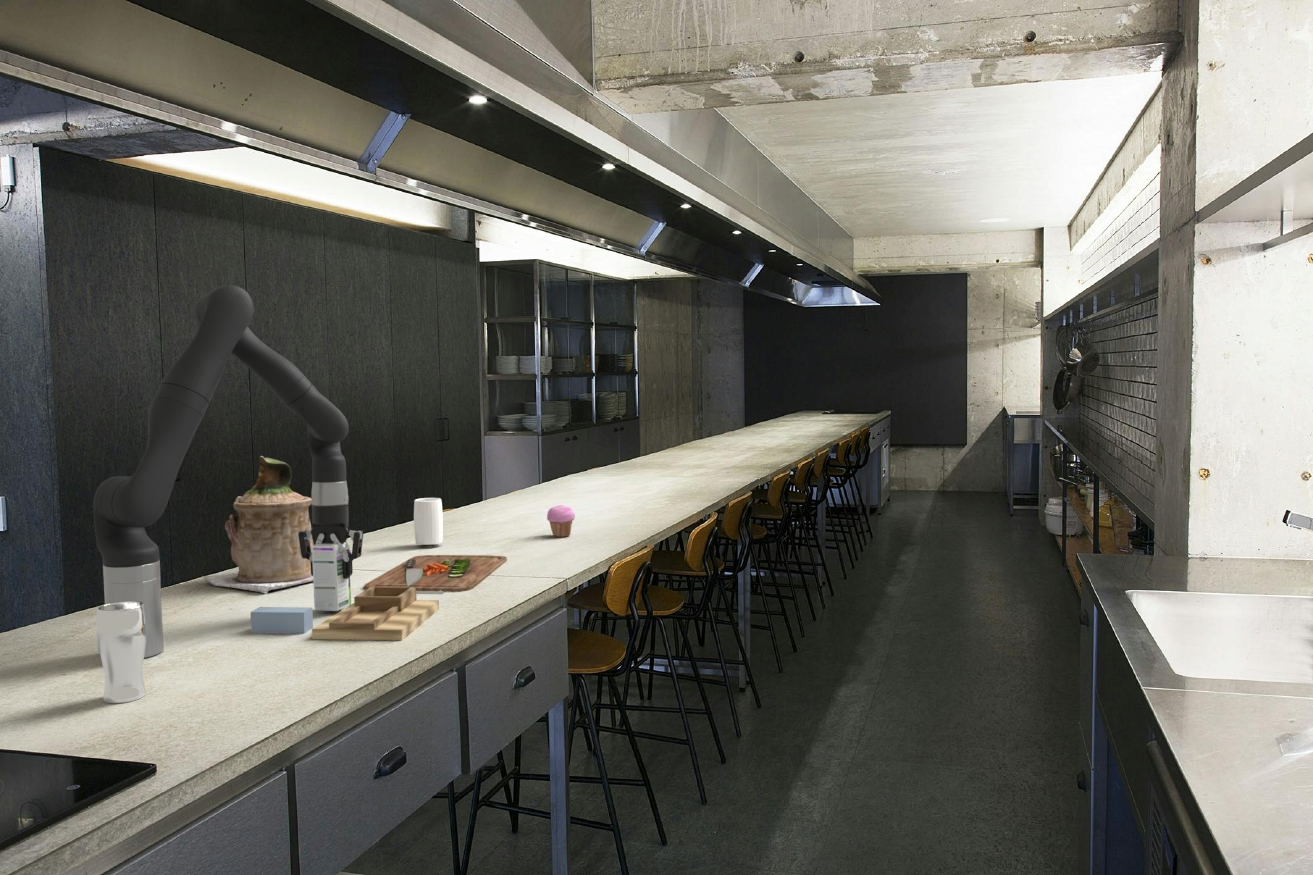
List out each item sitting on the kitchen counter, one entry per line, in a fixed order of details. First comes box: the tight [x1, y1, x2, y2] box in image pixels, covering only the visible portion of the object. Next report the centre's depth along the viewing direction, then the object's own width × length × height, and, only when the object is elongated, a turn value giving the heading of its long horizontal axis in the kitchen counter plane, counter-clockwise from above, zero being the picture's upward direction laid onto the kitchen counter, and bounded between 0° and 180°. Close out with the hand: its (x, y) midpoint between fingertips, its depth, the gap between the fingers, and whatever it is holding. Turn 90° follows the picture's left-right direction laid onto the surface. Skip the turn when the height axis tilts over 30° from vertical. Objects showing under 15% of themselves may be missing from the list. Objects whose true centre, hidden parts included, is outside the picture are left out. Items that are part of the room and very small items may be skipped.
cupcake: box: [546, 504, 576, 538], centre depth 299 cm, size 9×9×10 cm
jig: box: [311, 586, 440, 641], centre depth 197 cm, size 24×18×5 cm
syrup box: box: [312, 540, 352, 612], centre depth 207 cm, size 6×6×14 cm
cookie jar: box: [201, 455, 315, 595], centre depth 238 cm, size 25×25×32 cm
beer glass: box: [96, 601, 147, 704], centre depth 152 cm, size 7×7×15 cm
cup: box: [413, 497, 444, 545], centre depth 284 cm, size 8×8×14 cm
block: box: [250, 606, 314, 634], centre depth 192 cm, size 11×4×4 cm, turn 86°
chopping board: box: [363, 554, 508, 595], centre depth 246 cm, size 45×27×3 cm, turn 175°
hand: (332, 577), depth 207 cm, fingers closed on syrup box, 6 cm apart
